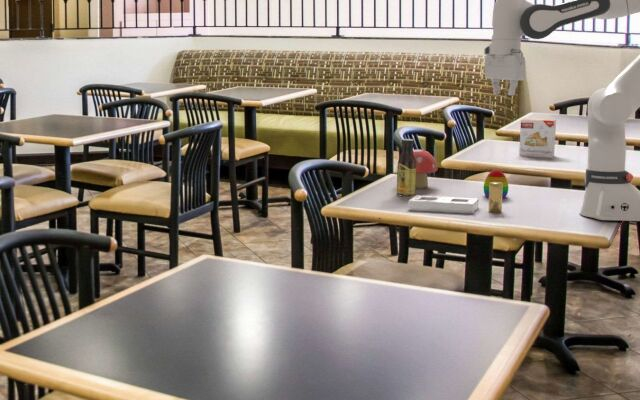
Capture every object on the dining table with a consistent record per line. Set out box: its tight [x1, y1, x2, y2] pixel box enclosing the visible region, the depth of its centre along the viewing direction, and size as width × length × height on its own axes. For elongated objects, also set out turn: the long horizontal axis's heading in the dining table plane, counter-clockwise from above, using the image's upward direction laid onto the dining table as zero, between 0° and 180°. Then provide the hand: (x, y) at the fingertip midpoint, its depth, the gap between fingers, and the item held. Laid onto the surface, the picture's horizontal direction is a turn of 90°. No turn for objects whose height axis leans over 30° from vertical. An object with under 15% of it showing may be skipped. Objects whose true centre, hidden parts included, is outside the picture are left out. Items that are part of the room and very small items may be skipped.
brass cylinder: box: [488, 182, 503, 214], centre depth 287 cm, size 4×4×9 cm
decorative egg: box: [483, 169, 509, 199], centre depth 312 cm, size 8×8×10 cm
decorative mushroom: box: [413, 148, 438, 189], centre depth 327 cm, size 13×13×15 cm
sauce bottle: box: [396, 138, 416, 197], centre depth 312 cm, size 7×6×20 cm
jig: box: [408, 194, 479, 215], centre depth 292 cm, size 20×12×3 cm, turn 73°
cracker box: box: [518, 118, 557, 159], centre depth 396 cm, size 14×6×21 cm, turn 67°
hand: (503, 94), depth 288 cm, fingers open, 8 cm apart
